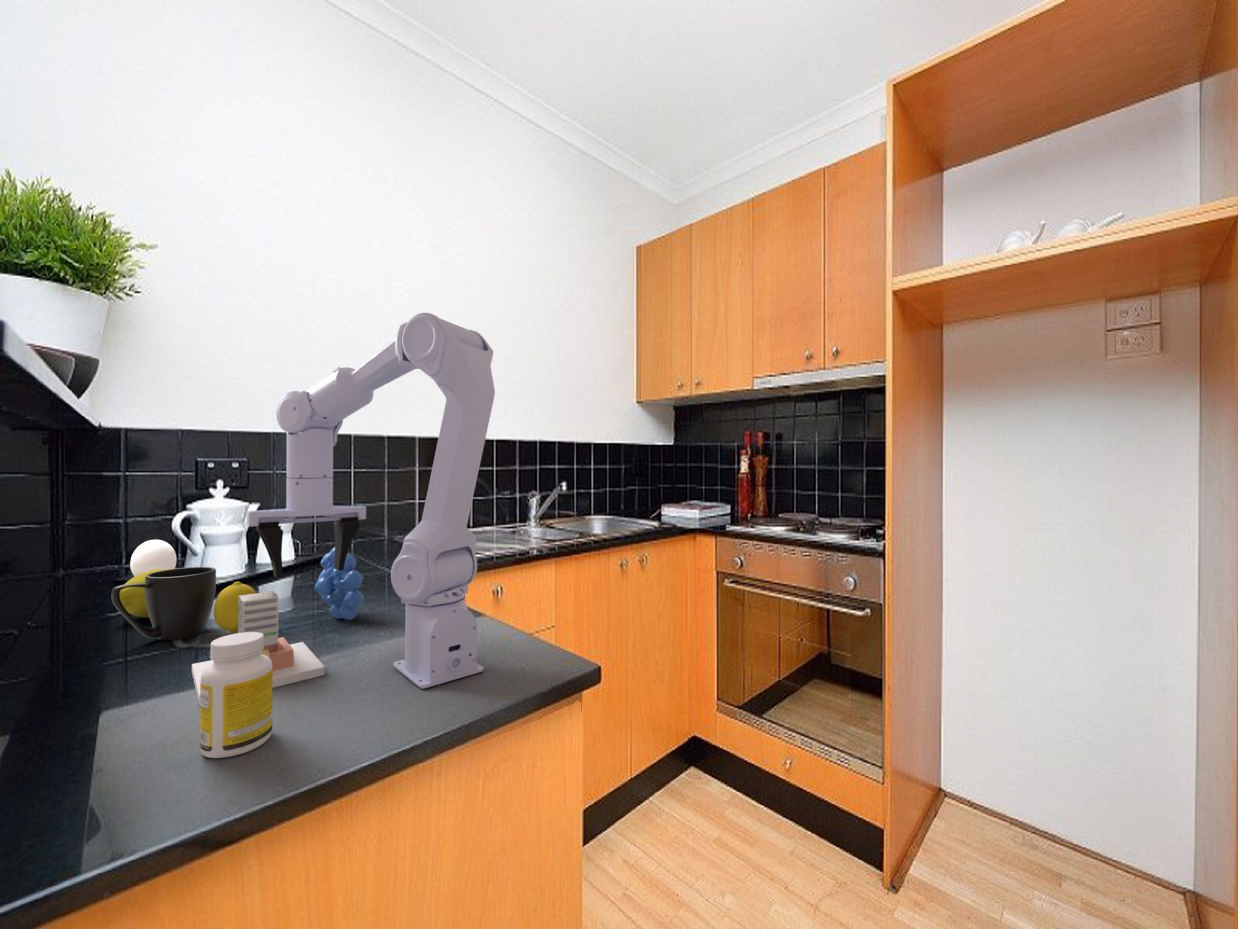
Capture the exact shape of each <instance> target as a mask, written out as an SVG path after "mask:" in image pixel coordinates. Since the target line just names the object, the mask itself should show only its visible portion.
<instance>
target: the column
mask: <svg viewBox="0 0 1238 929" xmlns="http://www.w3.org/2000/svg"><path fill="white" fill-rule="evenodd" d="M244 632H259V633H262V634H263V635H264V646H267V645H272V644H277V643H278V638H279V595H277V593H276V592H275V591H274V590H271V591H264V592H258V593H257V592H256V594H249V595H241V596H239V599H238V633H244Z"/></svg>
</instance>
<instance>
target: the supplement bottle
mask: <svg viewBox="0 0 1238 929" xmlns="http://www.w3.org/2000/svg"><path fill="white" fill-rule="evenodd" d="M263 647H264V635H263V634H262V633H259V632H244V633H236V634H233V633H231V634H228V635H224V636H221V637H218V638H216V639H213V640H212V641H211V643H210V652H209V653H210V660H214V663H212V664H211V665H209V666H208V667H206V668H205V669H204V671H203V672H202V674H201V680H200V706H199V707H200V708H199V712H200V713H199V716H200V717H199V747H200V750H199V751H200V753H201V755H202V756H204V757H205V758H210V759H223V758H230V757H231V758H232V757H235V756H238V755H242V754H246V753H248V752H251V751H253V750H255V749H257V748H258V747H261V746H262V745H263V744H265V743H266V742H267V741H268V740H269V739H270V738H271V736H272V733H273V691H274V690H273V688H274V687H273V668H272V661H271V659H270V658H269V657H267V656H265V655H262V654H261V652H262V651H263V649H264V648H263Z"/></svg>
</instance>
